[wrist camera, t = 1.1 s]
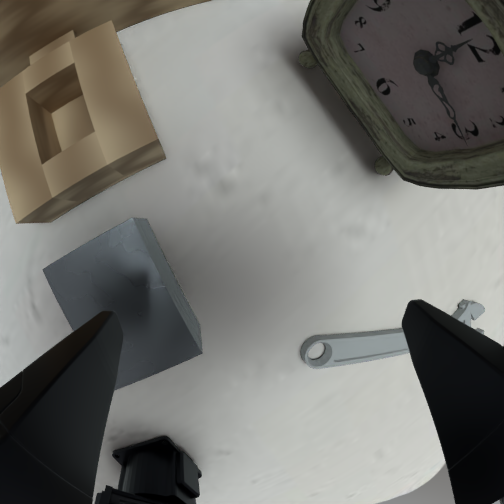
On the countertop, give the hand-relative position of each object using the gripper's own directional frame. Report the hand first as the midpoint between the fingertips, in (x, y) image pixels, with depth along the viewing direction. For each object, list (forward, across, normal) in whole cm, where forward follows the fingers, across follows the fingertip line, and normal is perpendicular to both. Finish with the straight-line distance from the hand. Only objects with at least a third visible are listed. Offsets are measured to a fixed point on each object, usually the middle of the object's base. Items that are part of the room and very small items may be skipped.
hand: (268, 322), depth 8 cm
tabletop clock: (+18, -10, -7) cm, 22 cm away
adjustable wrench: (+12, -16, +13) cm, 24 cm away
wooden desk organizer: (+15, +13, -7) cm, 21 cm away
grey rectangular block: (+11, +8, +5) cm, 14 cm away
